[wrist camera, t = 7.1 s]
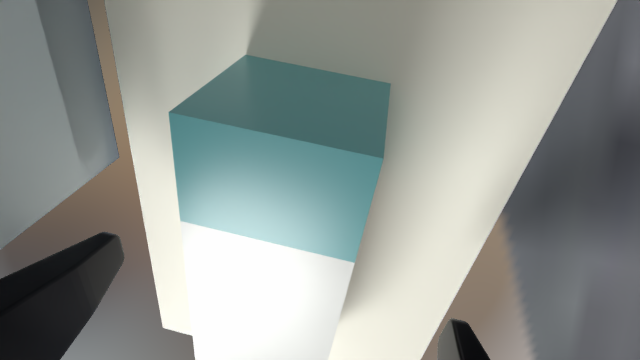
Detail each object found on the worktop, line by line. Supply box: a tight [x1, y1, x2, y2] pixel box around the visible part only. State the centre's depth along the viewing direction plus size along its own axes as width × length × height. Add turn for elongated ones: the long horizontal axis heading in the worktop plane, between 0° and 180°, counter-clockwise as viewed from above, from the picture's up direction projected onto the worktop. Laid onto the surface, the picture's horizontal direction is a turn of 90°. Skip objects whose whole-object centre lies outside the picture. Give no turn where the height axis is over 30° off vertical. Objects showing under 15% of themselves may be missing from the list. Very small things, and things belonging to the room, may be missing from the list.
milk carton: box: [168, 55, 391, 360], centre depth 10 cm, size 10×4×4 cm, turn 172°
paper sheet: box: [104, 0, 617, 360], centre depth 12 cm, size 16×11×1 cm
